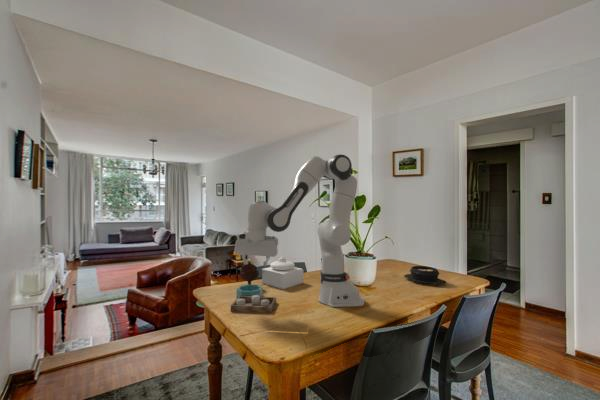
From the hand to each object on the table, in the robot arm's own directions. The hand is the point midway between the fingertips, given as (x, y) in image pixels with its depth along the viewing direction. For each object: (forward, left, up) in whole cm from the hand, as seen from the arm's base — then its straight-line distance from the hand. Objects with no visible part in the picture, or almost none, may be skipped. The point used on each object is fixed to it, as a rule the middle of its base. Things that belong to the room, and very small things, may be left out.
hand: (255, 264), depth 134 cm
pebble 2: (0, +1, -19) cm, 19 cm away
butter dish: (-7, -38, -19) cm, 44 cm away
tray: (0, +3, -19) cm, 19 cm away
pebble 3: (-6, +6, -19) cm, 20 cm away
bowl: (+6, -11, -19) cm, 23 cm away
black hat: (-94, -52, -19) cm, 109 cm away
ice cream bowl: (+10, -26, -19) cm, 34 cm away
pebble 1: (+5, +6, -19) cm, 20 cm away
